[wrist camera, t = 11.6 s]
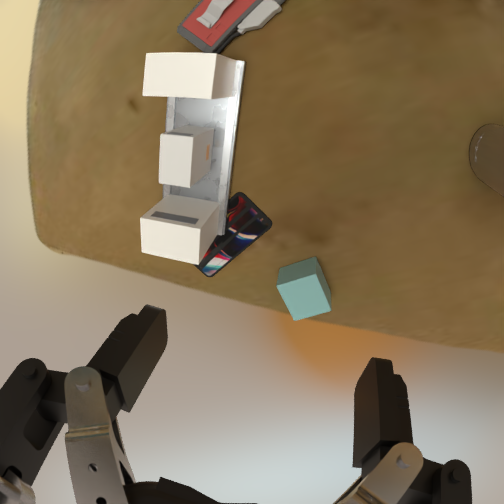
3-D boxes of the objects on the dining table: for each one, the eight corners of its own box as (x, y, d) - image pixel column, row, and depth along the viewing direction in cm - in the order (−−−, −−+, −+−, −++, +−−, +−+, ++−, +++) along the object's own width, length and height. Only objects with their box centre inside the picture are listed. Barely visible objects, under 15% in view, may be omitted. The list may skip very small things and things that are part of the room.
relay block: (315, 255, 48) (330, 291, 50) (279, 267, 50) (296, 301, 52) (315, 273, 43) (331, 310, 46) (276, 285, 45) (294, 320, 48)
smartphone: (274, 224, 46) (209, 279, 53) (275, 222, 47) (210, 277, 53) (239, 189, 44) (177, 250, 51) (240, 188, 45) (179, 248, 52)
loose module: (214, 127, 40) (193, 136, 33) (210, 170, 43) (190, 188, 36) (185, 124, 40) (160, 133, 33) (183, 166, 43) (158, 183, 36)
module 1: (236, 60, 35) (216, 53, 27) (231, 97, 37) (211, 99, 29) (178, 57, 35) (146, 52, 28) (174, 93, 38) (142, 96, 30)
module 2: (220, 202, 45) (200, 228, 37) (217, 233, 47) (198, 265, 39) (168, 193, 45) (140, 217, 38) (168, 224, 48) (141, 252, 40)
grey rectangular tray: (246, 62, 36) (243, 61, 34) (226, 231, 48) (223, 235, 47) (175, 58, 36) (170, 57, 35) (165, 219, 49) (161, 223, 48)
